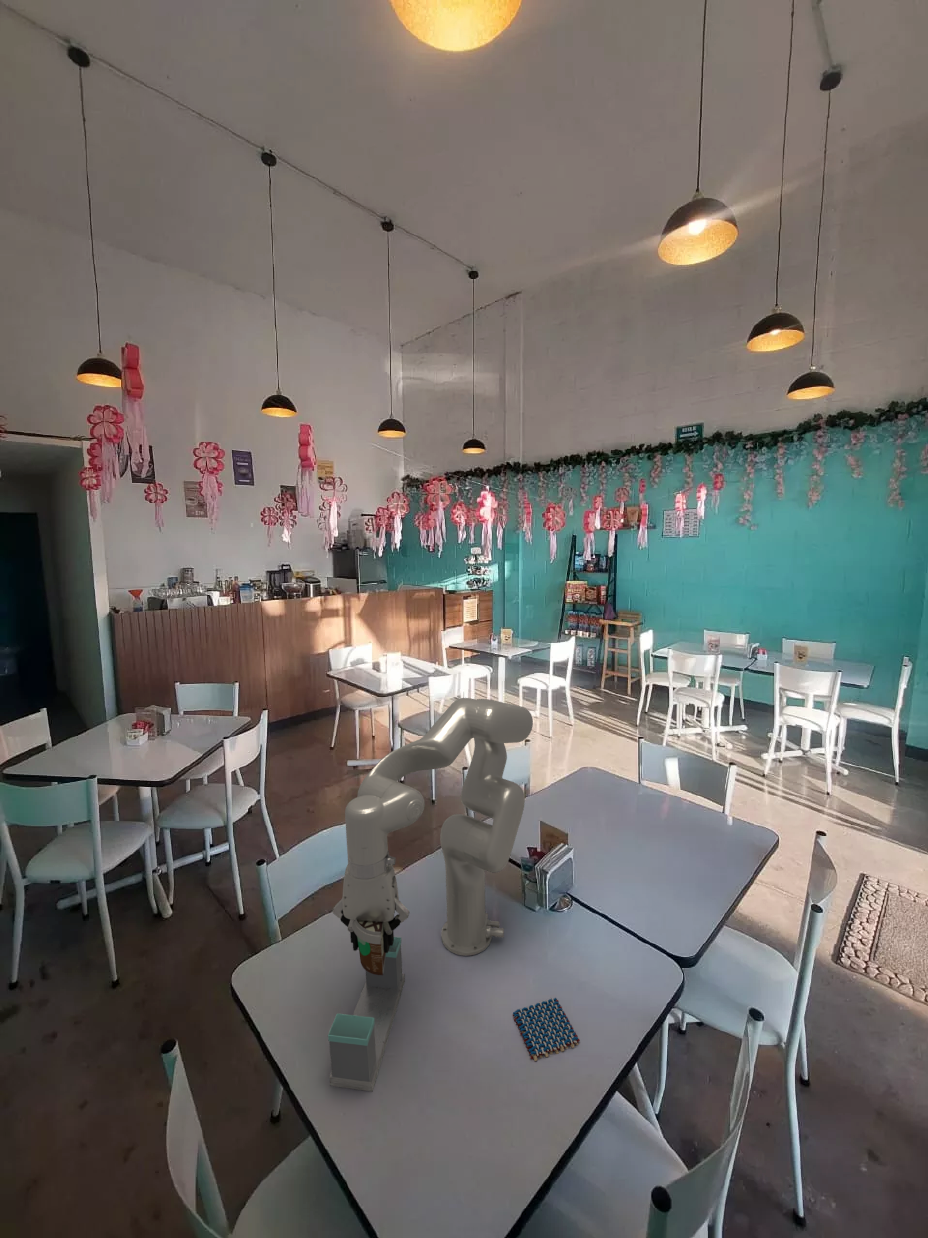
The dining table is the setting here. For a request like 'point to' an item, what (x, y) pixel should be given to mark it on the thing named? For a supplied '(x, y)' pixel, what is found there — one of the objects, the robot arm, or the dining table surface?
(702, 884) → the dining table surface
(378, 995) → the rail
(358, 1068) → the mounted module
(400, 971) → the block
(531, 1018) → the woven mat
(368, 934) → the food container
